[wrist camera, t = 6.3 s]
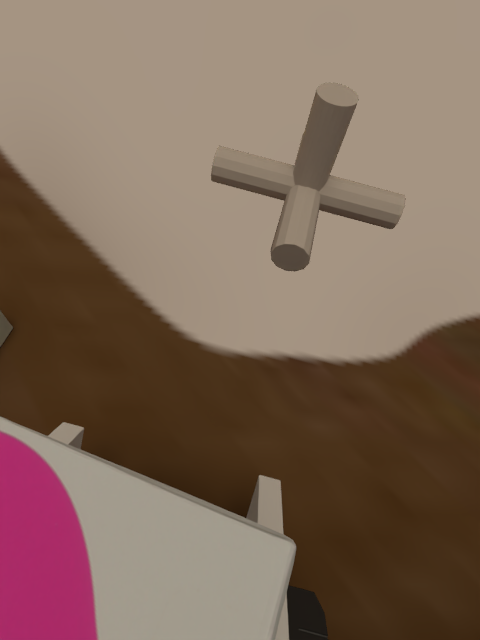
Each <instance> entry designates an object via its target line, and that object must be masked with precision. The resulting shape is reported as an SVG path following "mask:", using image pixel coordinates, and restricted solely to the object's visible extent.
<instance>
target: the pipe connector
mask: <svg viewBox="0 0 480 640" xmlns="http://www.w3.org/2000/svg"><path fill="white" fill-rule="evenodd" d="M358 100H359V99H358V95H357V94H356V93H355V92H354V91H353V90H352V89H350V88H349V87H347V86H344V85H342V84H338V83H324V84H321V85H320V86H318V88H317V90H316V94H315V97H314V100H313V104H312V108H311V111H310V115H309V118H308V122H307V125H306V128H305V132H304V134H303V136H302V140H301V143H300V147H299V151H298V155H297V159H296V162H295V166H293V165H290V164H286V163H282V162H279V161H275V160H271V159H267V158H263V157H259V156H256V155H252V154H249V153H245V152H241V151H237V150H234V149H230V148H226V147H222V146H219V147H218V148H217V151H216V153H215V156H214V161H213V165H212V173H211V180H212V181H214V182H217V183H221V184H225V185H228V186H232V187H236V188H240V189H243V190H247V191H251V192H255V193H258V194H262V195H266V196H269V197H273V198H277V199H280V200H284V201H285V202H284V205H283V209H282V212H281V216H280V220H279V223H278V226H277V230H276V233H275V237H274V240H273V244H272V247H271V259H272V261H273V262H274V264H275V265H276V266H277V267H279V268H281V269H284V270H286V271H298V270H301V269H304V268H305V267H306V266H307V265H308V264H309V260H310V254H311V249H312V244H313V239H314V234H315V228H316V223H317V218H318V213H319V210H321V211H325V212H329V213H332V214H336V215H340V216H344V217H347V218H351V219H355V220H358V221H362V222H366V223H369V224H373V225H377V226H381V227H384V228H388V229H393V228H394V227H395V226H396V224H397V223H398V221H399V219H400V217H401V215H402V212H403V209H404V206H405V200H406V198H405V196H404V195H402V194H398V193H395V192H391V191H387V190H383V189H380V188H376V187H372V186H368V185H365V184H361V183H357V182H354V181H350V180H346V179H342V178H339V177H335V176H331V175H330V172H331V170H332V167H333V164H334V162H335V159H336V157H337V154H338V152H339V149H340V146H341V144H342V141H343V139H344V136H345V134H346V131H347V128H348V126H349V123H350V120H351V118H352V115H353V113H354V110H355V108H356V105H357V102H358Z"/></svg>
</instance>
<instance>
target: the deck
mask: <svg viewBox="0 0 480 640" xmlns="http://www.w3.org/2000/svg"><path fill="white" fill-rule="evenodd" d="M12 329H13V327H12V325H11V324H10V323H9V322H8V320H7V319H6V318H5V316H4V315H3V314H2V312H1V311H0V347H1V345H2V344H3V342H4V341H5V339H6V338H7V336H8V335H9V333H10V332H11V330H12Z"/></svg>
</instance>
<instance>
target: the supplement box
mask: <svg viewBox="0 0 480 640" xmlns="http://www.w3.org/2000/svg"><path fill="white" fill-rule="evenodd" d="M295 553H296V545H295V543H294V541H293V540H292V539H290V538H289V537H287V536H285V535H283V534H281V533H279V532H276V531H274V530H272V529H269V528H267V527H265V526H263V525H260V524H258V523H256V522H254V521H251V520H249V519H247V518H245V517H242V516H240V515H237V514H235V513H232V512H230V511H227V510H225V509H223V508H220V507H218V506H216V505H213V504H211V503H208V502H206V501H204V500H201V499H199V498H197V497H194V496H192V495H190V494H187V493H185V492H182V491H180V490H178V489H175V488H173V487H170V486H168V485H166V484H163V483H161V482H158V481H156V480H154V479H151V478H149V477H146V476H144V475H142V474H139V473H137V472H134V471H132V470H129V469H127V468H125V467H122V466H120V465H117V464H115V463H112V462H110V461H107V460H105V459H102V458H100V457H97V456H95V455H93V454H90V453H88V452H85V451H83V450H80V449H78V448H75V447H73V446H70V445H68V444H66V443H63V442H61V441H58V440H56V439H53V438H51V437H48V436H46V435H43V434H41V433H39V432H36V431H34V430H31V429H29V428H26V427H24V426H21V425H19V424H16V423H14V422H12V421H10V420H8V419H6V418H3V417H0V640H275V638H276V634H277V629H278V625H279V620H280V616H281V612H282V608H283V605H284V601H285V597H286V593H287V589H288V584H289V580H290V576H291V572H292V568H293V564H294V558H295Z"/></svg>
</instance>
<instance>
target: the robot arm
mask: <svg viewBox="0 0 480 640" xmlns="http://www.w3.org/2000/svg"><path fill="white" fill-rule="evenodd" d="M83 432H84V428H83V427H79V426H76V425H72V424H68V423H65V422H63V423H62V424H61V425H60V426H59V427H57V428H56V429H55V430H54V431H53V432H52V433H51V434H50V435H49V436H48V437H51V438H53V439H56V440H58V441H61V442H63V443H66V444H68V445H70V446H73V447H75V448H78V449H81V443H82V438H83ZM246 518H247V519H249V520H251V521H254V522H256V523H258V524H260V525H263V526H265V527H267V528H269V529H272V530H274V531H276V532H279V533H281V534H283V519H282V501H281V483H280V480H276V479H273V478H269V477H265V476H261V475H259V477H258V481H257V484H256V487H255V491H254V494H253V497H252V501H251V504H250V507H249V510H248V514H247V517H246ZM327 636H328V634H327V627H326V621H325V614H324V611H323V609H322V607H321V605H320V603H319V601H318V599H317V597H316V595H315V593H314V592H311V591H307V590H304V589H300V588H296V587H293V586H289V585H288V589H287V593H286V597H285V601H284V605H283V608H282V612H281V616H280V620H279V625H278V629H277V634H276V638H275V640H328V639H327Z"/></svg>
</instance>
